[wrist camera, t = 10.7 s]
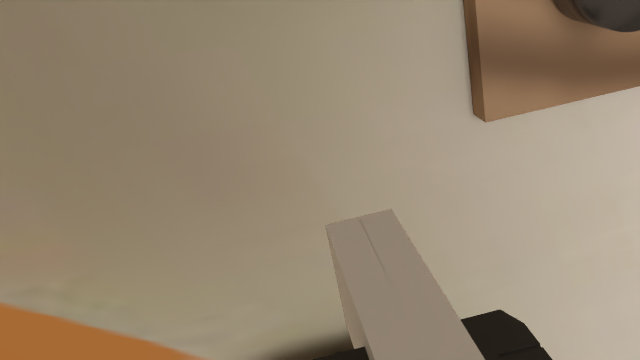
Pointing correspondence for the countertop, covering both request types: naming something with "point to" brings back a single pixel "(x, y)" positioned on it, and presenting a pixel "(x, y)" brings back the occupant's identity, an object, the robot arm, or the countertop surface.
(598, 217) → the countertop surface
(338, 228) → the robot arm
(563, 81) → the base
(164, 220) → the countertop surface
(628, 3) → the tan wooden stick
